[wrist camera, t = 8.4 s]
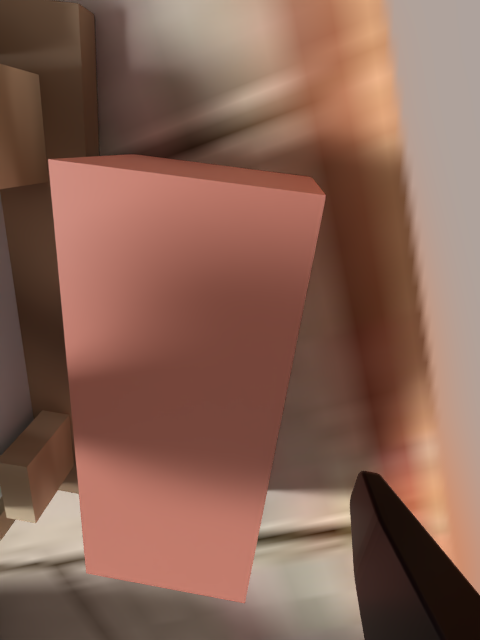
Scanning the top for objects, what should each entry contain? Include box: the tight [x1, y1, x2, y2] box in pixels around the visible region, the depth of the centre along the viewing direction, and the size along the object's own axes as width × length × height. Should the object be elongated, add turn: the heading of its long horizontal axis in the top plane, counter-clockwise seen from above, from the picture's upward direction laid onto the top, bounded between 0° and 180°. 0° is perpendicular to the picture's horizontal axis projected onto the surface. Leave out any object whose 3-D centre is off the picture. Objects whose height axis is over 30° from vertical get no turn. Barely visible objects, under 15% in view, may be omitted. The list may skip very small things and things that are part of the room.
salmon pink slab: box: [48, 154, 326, 603], centre depth 11 cm, size 12×5×4 cm, turn 174°
